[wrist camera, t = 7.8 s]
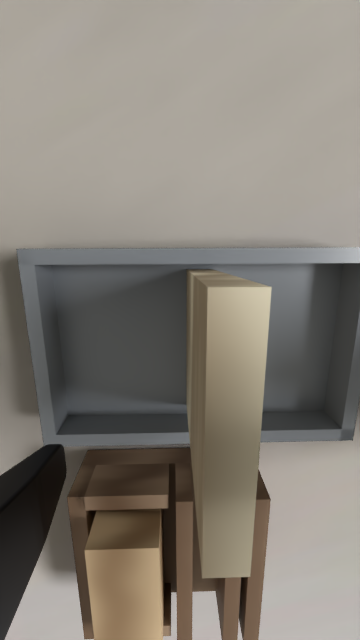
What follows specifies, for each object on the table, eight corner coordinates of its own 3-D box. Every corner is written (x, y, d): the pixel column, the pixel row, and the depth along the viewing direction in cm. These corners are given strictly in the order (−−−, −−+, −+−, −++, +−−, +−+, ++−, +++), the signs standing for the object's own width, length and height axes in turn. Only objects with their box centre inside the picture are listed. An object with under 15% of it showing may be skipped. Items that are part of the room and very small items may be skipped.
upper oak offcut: (160, 510, 17) (158, 548, 14) (163, 615, 19) (162, 661, 17) (95, 512, 17) (84, 550, 14) (105, 617, 19) (96, 663, 16)
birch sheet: (211, 269, 16) (271, 286, 6) (208, 404, 18) (250, 576, 8) (186, 269, 16) (207, 287, 6) (186, 405, 18) (202, 578, 8)
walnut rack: (249, 446, 20) (270, 499, 16) (241, 568, 23) (258, 642, 18) (88, 449, 20) (63, 505, 15) (99, 573, 22) (82, 649, 18)
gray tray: (347, 249, 17) (384, 247, 14) (325, 413, 20) (352, 440, 17) (44, 250, 16) (16, 248, 14) (63, 417, 19) (44, 446, 16)
